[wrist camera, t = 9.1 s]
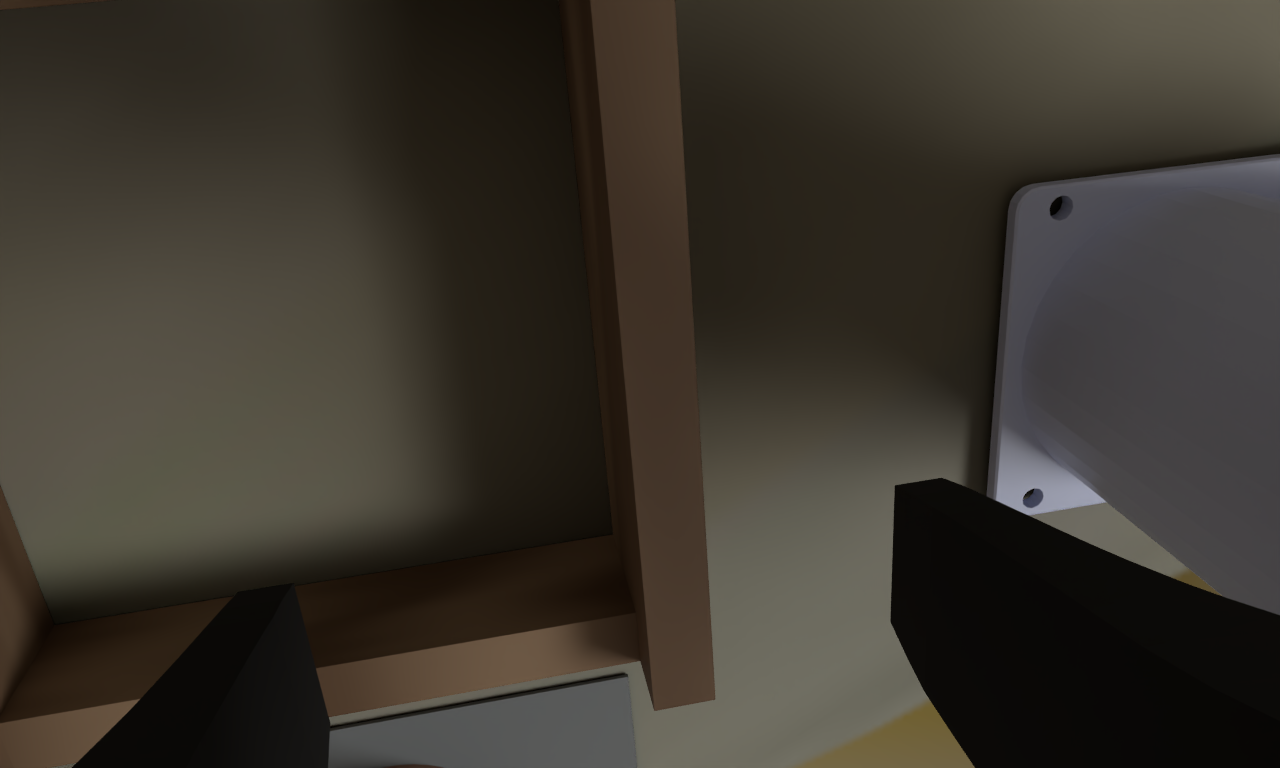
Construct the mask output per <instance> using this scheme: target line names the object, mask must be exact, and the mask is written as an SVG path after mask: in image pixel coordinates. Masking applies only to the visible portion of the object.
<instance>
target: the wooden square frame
mask: <svg viewBox="0 0 1280 768" xmlns="http://www.w3.org/2000/svg"><path fill="white" fill-rule="evenodd" d="M101 1H113V0H0V10H6V9H18V8H30V7H42V6H53V5H65V4H77V3H89V2H101ZM559 10H560V20H561V30H562V39H563V49H564V59H565V69H566V79H567V88H568V98H569V108H570V118H571V127H572V137H573V147H574V157H575V167H576V176H577V186H578V196H579V206H580V216H581V225H582V235H583V245H584V255H585V264H586V274H587V284H588V294H589V304H590V313H591V323H592V333H593V343H594V353H595V362H596V372H597V382H598V392H599V401H600V411H601V421H602V431H603V441H604V450H605V460H606V470H607V480H608V490H609V499H610V509H611V519H612V529H613V535H607V536H601V537H595V538H588V539H582V540H576V541H570V542H564V543H558V544H551V545H545V546H539V547H533V548H527V549H521V550H515V551H508V552H502V553H496V554H490V555H484V556H478V557H472V558H465V559H459V560H453V561H447V562H441V563H435V564H428V565H422V566H416V567H410V568H404V569H398V570H392V571H385V572H379V573H373V574H367V575H361V576H355V577H349V578H342V579H336V580H330V581H324V582H318V583H312V584H305V585H299V586H295V590H296V594H297V598H298V602H299V606H300V609H301V613H302V617H303V621H304V625H305V629H306V632H307V636H308V640H309V644H310V648H311V652H312V655H313V659H314V663H315V667H316V671H317V675H318V678H319V682H320V686H321V690H322V694H323V697H324V701H325V705H326V709H327V713H328V717H332V716H337V715H343V714H349V713H354V712H360V711H365V710H371V709H376V708H382V707H387V706H393V705H398V704H404V703H409V702H415V701H421V700H426V699H432V698H437V697H443V696H448V695H454V694H459V693H465V692H470V691H476V690H481V689H487V688H493V687H498V686H504V685H509V684H515V683H520V682H526V681H531V680H537V679H542V678H548V677H553V676H559V675H564V674H570V673H576V672H581V671H587V670H592V669H598V668H603V667H609V666H614V665H620V664H625V663H631V662H636V661H641V665H642V668H643V672H644V675H645V679H646V683H647V686H648V690H649V693H650V697H651V701H652V704H653V708H654V711H657V710H662V709H667V708H673V707H678V706H683V705H689V704H694V703H699V702H705V701H710V700H715V684H714V667H713V649H712V632H711V615H710V598H709V580H708V563H707V546H706V528H705V511H704V494H703V476H702V459H701V442H700V424H699V407H698V390H697V372H696V355H695V338H694V321H693V303H692V286H691V269H690V251H689V234H688V217H687V199H686V182H685V165H684V147H683V130H682V113H681V95H680V78H679V61H678V43H677V26H676V9H675V0H559ZM233 597H234V596H232V597H226V598H219V599H213V600H207V601H201V602H195V603H189V604H182V605H176V606H170V607H164V608H158V609H152V610H146V611H139V612H133V613H127V614H121V615H115V616H109V617H103V618H96V619H90V620H84V621H78V622H72V623H66V624H59V625H54V623H53V621H52V618H51V615H50V613H49V610H48V608H47V605H46V602H45V600H44V597H43V595H42V592H41V590H40V587H39V584H38V582H37V579H36V577H35V574H34V571H33V569H32V566H31V564H30V561H29V559H28V556H27V553H26V551H25V548H24V546H23V543H22V540H21V538H20V535H19V533H18V530H17V527H16V525H15V522H14V520H13V517H12V515H11V512H10V509H9V507H8V504H7V502H6V499H5V496H4V494H3V491H2V489H1V486H0V768H49V767H55V766H61V765H66V764H72V763H77V762H78V761H79V760H80V759H81V758H82V757H83V756H84V755H85V754H86V753H87V752H88V751H89V750H90V749H91V748H92V747H93V746H94V745H95V744H96V743H97V742H98V741H99V740H100V739H101V738H102V737H103V736H104V735H105V734H106V733H107V732H108V731H109V730H110V729H111V728H112V727H113V726H114V725H115V724H116V723H117V722H119V721H120V720H121V719H122V718H123V717H124V716H125V715H126V714H127V713H128V712H129V711H130V709H131V708H132V707H133V706H134V705H135V704H136V703H137V702H138V701H139V700H140V699H141V698H142V697H143V696H144V694H145V693H146V692H147V691H148V690H149V689H150V688H151V687H152V686H153V685H154V684H155V682H156V681H157V680H158V679H159V678H160V677H161V676H162V675H163V674H164V673H165V672H166V671H167V669H168V668H169V667H170V666H171V665H172V664H173V663H174V662H175V661H176V660H177V659H178V658H179V656H180V655H181V654H182V653H183V652H184V651H185V650H186V649H187V647H188V646H189V645H190V644H191V643H192V642H193V641H194V640H195V638H196V637H197V636H198V635H199V634H200V633H201V632H202V631H203V629H204V628H205V627H206V626H207V625H208V624H209V623H210V622H211V621H212V619H213V618H214V617H215V616H216V615H217V614H218V613H219V612H220V611H221V609H222V608H223V607H224V606H225V605H226V604H227V603H228V602H229V601H230V600H231V599H232V598H233Z"/></svg>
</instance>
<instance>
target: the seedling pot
mask: <svg viewBox="0 0 1280 768" xmlns="http://www.w3.org/2000/svg"><path fill="white" fill-rule="evenodd" d="M385 768H443V767H438V766H432V765H419V764H410V765H397V766H390V767H385Z"/></svg>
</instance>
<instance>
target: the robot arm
mask: <svg viewBox="0 0 1280 768" xmlns="http://www.w3.org/2000/svg"><path fill="white" fill-rule="evenodd" d="M1060 196H1061V197H1062V205H1061V208H1060V210H1059V211H1058V212H1057V213H1056V214H1054V215H1052V216H1050V210H1049V209H1050V206H1051V203H1052V202H1053V201H1054V200H1055V199H1056V198H1057V197H1060ZM1034 488H1035V489H1034ZM1031 489H1034V491H1033V494H1032V495H1031V496H1030V497H1029V498H1026V499H1024V500H1023V497H1024V495H1025V494H1026V493H1027V492H1028V491H1029V490H1031ZM1105 502H1107V503H1109V504H1110V505H1111V506H1112V507H1113V508H1115V509H1116V510H1117V511H1118V512H1120V513H1121V514H1122V515H1123V516H1125V517H1126V518H1127V519H1128V520H1130V521H1131V522H1132V523H1133V524H1134V525H1136V526H1137V527H1138V528H1139V529H1141V530H1142V531H1143V532H1144V533H1146V534H1147V535H1148V536H1149V537H1151V538H1152V539H1153V540H1154V541H1155V542H1157V543H1158V544H1159V545H1160V546H1162V547H1163V548H1164V549H1165V550H1167V551H1168V552H1169V553H1170V554H1172V555H1173V556H1174V557H1175V558H1176V559H1178V560H1179V561H1180V562H1181V563H1183V564H1184V565H1185V566H1186V567H1188V568H1189V569H1190V570H1191V571H1193V572H1194V573H1195V574H1196V575H1197V576H1199V577H1200V578H1201V579H1202V580H1204V581H1205V582H1206V583H1207V584H1209V585H1210V586H1211V587H1212V588H1214V589H1215V590H1216V591H1217V592H1218V593H1220V594H1221V595H1222V596H1220V595H1216V594H1214V593H1211V592H1208V591H1206V590H1203V589H1200V588H1197V587H1194V586H1192V585H1189V584H1186V583H1184V582H1181V581H1179V580H1176V579H1173V578H1171V577H1168V576H1166V575H1163V574H1161V573H1158V572H1156V571H1153V570H1151V569H1148V568H1146V567H1143V566H1141V565H1138V564H1136V563H1133V562H1131V561H1128V560H1126V559H1124V558H1121V557H1119V556H1117V555H1114V554H1112V553H1110V552H1107V551H1105V550H1103V549H1100V548H1098V547H1096V546H1094V545H1091V544H1089V543H1087V542H1085V541H1082V540H1080V539H1078V538H1076V537H1074V536H1071V535H1069V534H1067V533H1065V532H1063V531H1060V530H1058V529H1056V528H1054V527H1052V526H1050V525H1047V524H1045V523H1043V522H1041V521H1039V520H1037V519H1035V518H1032V517H1030V516H1029V515H1034V514H1040V513H1046V512H1052V511H1058V510H1064V509H1070V508H1076V507H1082V506H1088V505H1093V504H1099V503H1105ZM891 624H892V626H893V628H894V630H895V632H896V635H897V637H898V639H899V641H900V643H901V645H902V647H903V649H904V652H905V654H906V656H907V658H908V660H909V662H910V664H911V666H912V668H913V670H914V672H915V674H916V676H917V678H918V680H919V682H920V684H921V686H922V688H923V690H924V691H925V693H926V695H927V696H928V698H929V699H930V701H931V702H932V704H933V705H934V707H935V708H936V710H937V711H938V713H939V714H940V716H941V717H942V719H943V721H944V722H945V724H946V725H947V726H948V728H949V729H950V731H951V733H952V734H953V736H954V737H955V739H956V740H957V742H958V743H959V744H960V746H961V748H962V749H963V750H964V752H965V753H966V755H967V756H968V758H969V759H970V761H971V762H972V764H973V765H974V767H975V768H1280V154H1273V155H1265V156H1256V157H1248V158H1240V159H1232V160H1224V161H1215V162H1207V163H1199V164H1191V165H1182V166H1174V167H1166V168H1158V169H1150V170H1141V171H1133V172H1125V173H1117V174H1108V175H1100V176H1092V177H1084V178H1075V179H1067V180H1059V181H1051V182H1043V183H1034V184H1030V185H1027V186H1024V187H1022V188H1021V189H1020V190H1019V191H1017V192H1016V193H1015V195H1014V196H1013V198H1012V199H1011V201H1010V205H1009V209H1008V219H1007V232H1006V245H1005V259H1004V272H1003V285H1002V298H1001V312H1000V325H999V338H998V352H997V365H996V378H995V391H994V405H993V418H992V431H991V444H990V458H989V471H988V484H987V496H985V495H983V494H981V493H978V492H976V491H974V490H972V489H969V488H967V487H965V486H962V485H960V484H957V483H955V482H952V481H949V480H946V479H943V478H938V479H932V480H925V481H919V482H913V483H907V484H901V485H895V498H894V529H893V560H892V592H891ZM329 739H330V720H329V717H328V713H327V709H326V705H325V701H324V697H323V694H322V690H321V686H320V682H319V678H318V675H317V671H316V667H315V663H314V659H313V655H312V652H311V648H310V644H309V640H308V636H307V632H306V629H305V625H304V621H303V617H302V613H301V609H300V606H299V602H298V598H297V594H296V590H295V586H294V583H290V584H284V585H278V586H272V587H266V588H259V589H253V590H247V591H241V592H238V593H237V594H236V595H235V596H234V597H233V598H232V599H231V600H230V601H229V602H228V603H227V604H226V605H225V606H224V607H223V608H222V609H221V611H220V612H219V613H218V614H217V615H216V616H215V617H214V618H213V619H212V621H211V622H210V623H209V624H208V625H207V626H206V627H205V628H204V629H203V631H202V632H201V633H200V634H199V635H198V636H197V637H196V638H195V640H194V641H193V642H192V643H191V644H190V645H189V646H188V647H187V649H186V650H185V651H184V652H183V653H182V654H181V655H180V656H179V658H178V659H177V660H176V661H175V662H174V663H173V664H172V665H171V666H170V667H169V668H168V669H167V671H166V672H165V673H164V674H163V675H162V676H161V677H160V678H159V679H158V680H157V681H156V682H155V684H154V685H153V686H152V687H151V688H150V689H149V690H148V691H147V692H146V693H145V694H144V696H143V697H142V698H141V699H140V700H139V701H138V702H137V703H136V704H135V705H134V706H133V707H132V708H131V709H130V711H129V712H128V713H127V714H126V715H125V716H124V717H123V718H122V719H121V720H120V721H119V722H117V723H116V724H115V725H114V726H113V727H112V728H111V729H110V730H109V731H108V732H107V733H106V734H105V735H104V736H103V737H102V738H101V739H100V740H99V741H98V742H97V743H96V744H95V745H94V746H93V747H92V748H91V749H90V750H89V751H88V752H87V753H86V754H85V755H84V756H83V757H82V758H81V759H80V760H79V761H78V762H77V763H76V764H75V765H74V766H73V767H72V768H328V759H329Z"/></svg>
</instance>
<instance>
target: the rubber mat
mask: <svg viewBox="0 0 1280 768" xmlns="http://www.w3.org/2000/svg"><path fill="white" fill-rule="evenodd" d="M410 764H419V765H432V766H438V767H443V768H637V760H636V750H635V740H634V730H633V720H632V711H631V701H630V691H629V681H628V675H627V674H625V675H620V676H614V677H609V678H603V679H598V680H592V681H587V682H581V683H576V684H570V685H565V686H559V687H554V688H548V689H543V690H537V691H532V692H526V693H521V694H515V695H510V696H504V697H499V698H493V699H488V700H482V701H477V702H471V703H466V704H460V705H455V706H449V707H444V708H438V709H433V710H427V711H422V712H416V713H411V714H405V715H400V716H394V717H389V718H383V719H378V720H372V721H367V722H361V723H356V724H350V725H345V726H339V727H334V728H330V739H329V759H328V768H385V767H390V766H397V765H410Z"/></svg>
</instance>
